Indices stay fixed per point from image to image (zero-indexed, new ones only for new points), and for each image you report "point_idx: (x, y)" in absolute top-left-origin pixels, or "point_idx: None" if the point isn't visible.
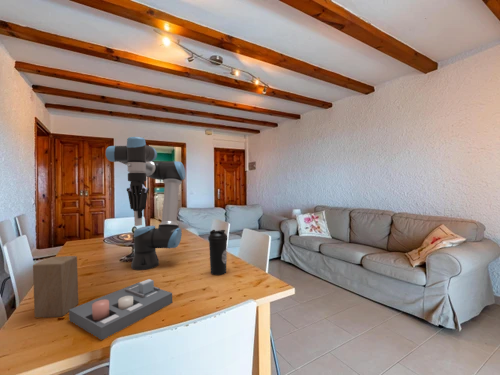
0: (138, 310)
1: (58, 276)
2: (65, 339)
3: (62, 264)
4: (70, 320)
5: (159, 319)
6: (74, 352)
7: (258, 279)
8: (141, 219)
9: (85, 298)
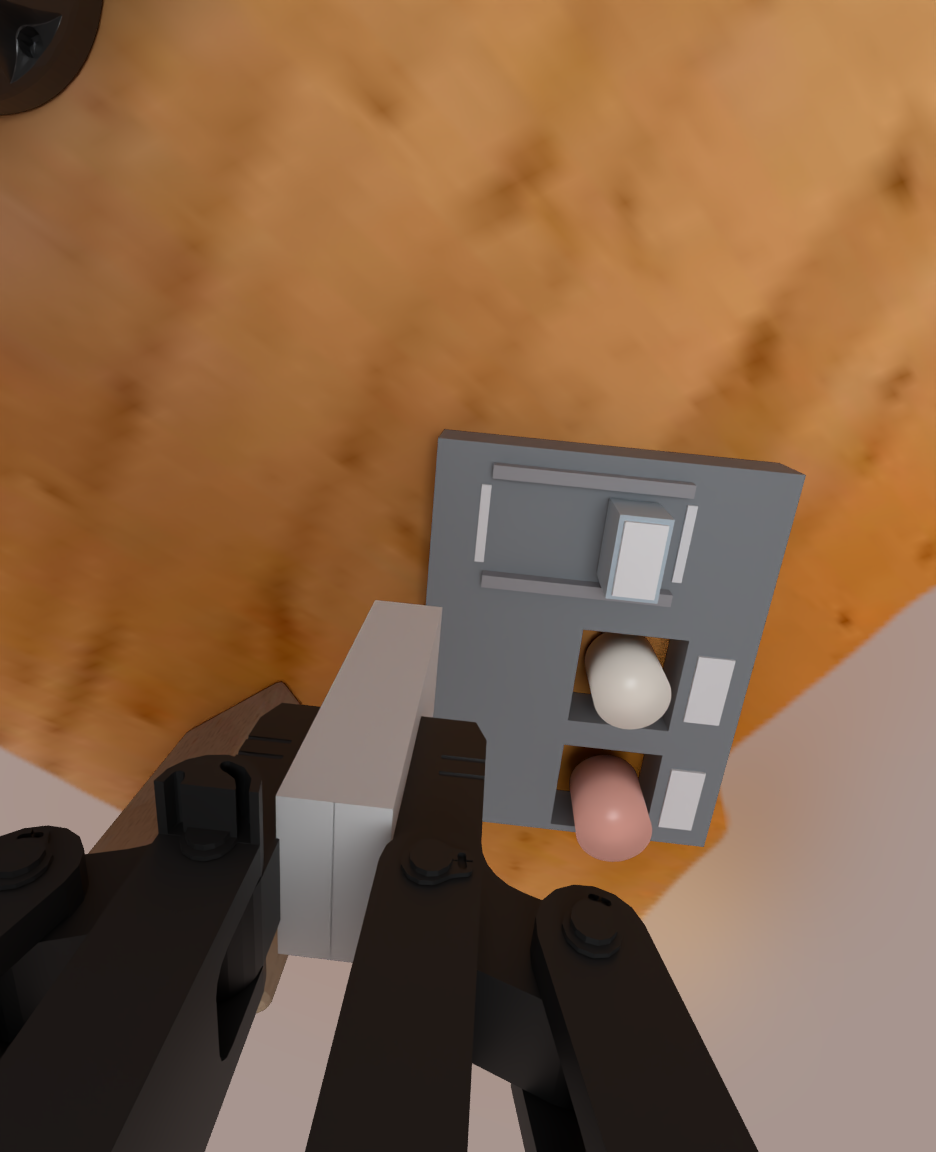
0: (743, 695)
1: None
2: (547, 849)
3: (268, 991)
4: None
5: (821, 624)
6: (656, 876)
7: None
8: (427, 673)
9: (245, 629)
